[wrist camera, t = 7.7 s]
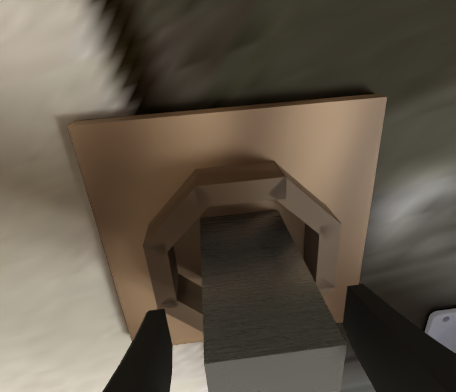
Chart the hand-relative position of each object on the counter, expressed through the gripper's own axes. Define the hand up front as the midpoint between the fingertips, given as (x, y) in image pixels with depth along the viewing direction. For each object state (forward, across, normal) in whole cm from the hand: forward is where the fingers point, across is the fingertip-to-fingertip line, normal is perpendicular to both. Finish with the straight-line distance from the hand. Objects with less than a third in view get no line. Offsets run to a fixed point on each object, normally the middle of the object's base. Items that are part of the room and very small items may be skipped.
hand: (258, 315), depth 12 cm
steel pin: (+5, 0, 0) cm, 5 cm away
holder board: (+6, 0, 0) cm, 6 cm away
